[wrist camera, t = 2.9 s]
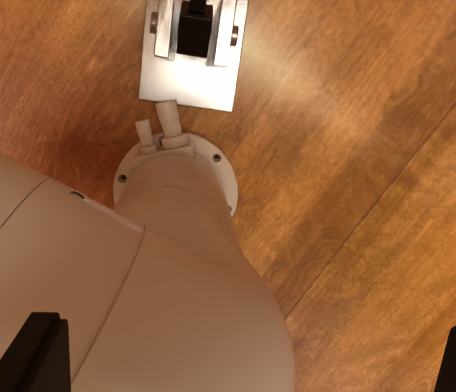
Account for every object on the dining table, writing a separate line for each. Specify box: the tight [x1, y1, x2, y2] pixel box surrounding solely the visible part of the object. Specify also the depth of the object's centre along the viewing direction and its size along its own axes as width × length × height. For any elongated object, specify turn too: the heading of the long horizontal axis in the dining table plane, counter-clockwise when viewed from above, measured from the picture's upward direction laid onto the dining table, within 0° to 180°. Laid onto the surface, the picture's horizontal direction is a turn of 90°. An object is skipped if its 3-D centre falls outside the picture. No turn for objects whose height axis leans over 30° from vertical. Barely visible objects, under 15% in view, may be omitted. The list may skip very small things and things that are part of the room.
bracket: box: [138, 0, 249, 112], centre depth 34 cm, size 12×9×13 cm
